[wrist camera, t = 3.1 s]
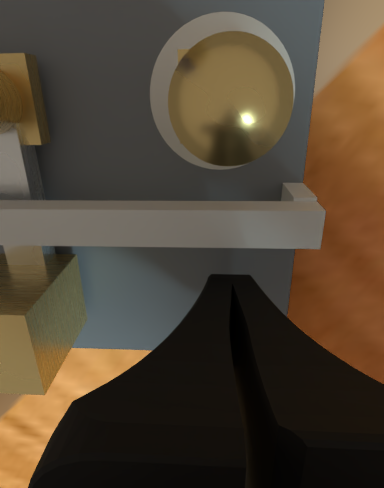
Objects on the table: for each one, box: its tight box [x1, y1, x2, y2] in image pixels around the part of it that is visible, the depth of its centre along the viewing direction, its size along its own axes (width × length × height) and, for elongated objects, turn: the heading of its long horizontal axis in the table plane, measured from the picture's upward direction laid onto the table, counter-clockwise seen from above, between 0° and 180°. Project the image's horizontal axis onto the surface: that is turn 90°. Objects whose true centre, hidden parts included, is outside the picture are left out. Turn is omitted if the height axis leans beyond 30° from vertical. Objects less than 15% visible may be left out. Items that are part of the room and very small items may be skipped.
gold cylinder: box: [168, 31, 294, 166], centre depth 7 cm, size 2×2×5 cm
